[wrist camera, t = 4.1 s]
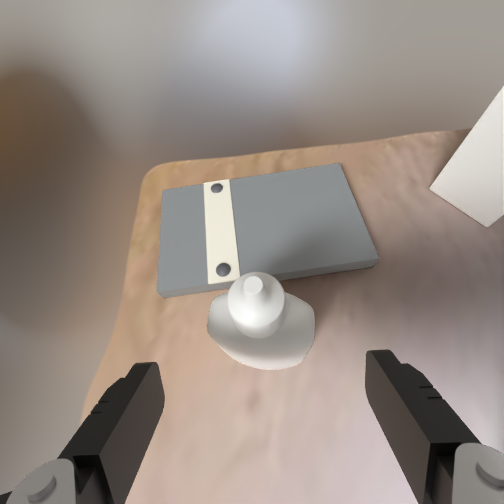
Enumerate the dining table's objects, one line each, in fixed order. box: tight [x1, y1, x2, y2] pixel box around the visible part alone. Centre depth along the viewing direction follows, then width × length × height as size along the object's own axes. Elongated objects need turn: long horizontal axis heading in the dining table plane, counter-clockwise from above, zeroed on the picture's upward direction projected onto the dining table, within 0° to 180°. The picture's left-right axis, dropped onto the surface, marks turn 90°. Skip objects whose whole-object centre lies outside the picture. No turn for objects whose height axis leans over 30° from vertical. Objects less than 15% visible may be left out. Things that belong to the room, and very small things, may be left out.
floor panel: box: [157, 163, 379, 298], centre depth 24 cm, size 18×11×2 cm, turn 97°
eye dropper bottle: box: [207, 272, 315, 370], centre depth 15 cm, size 4×6×12 cm
